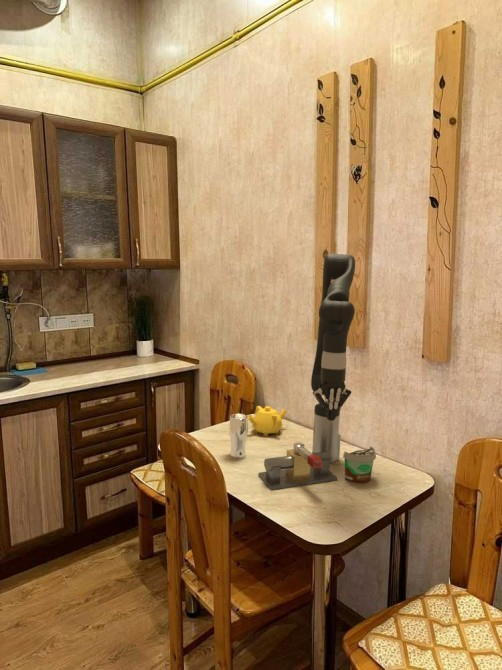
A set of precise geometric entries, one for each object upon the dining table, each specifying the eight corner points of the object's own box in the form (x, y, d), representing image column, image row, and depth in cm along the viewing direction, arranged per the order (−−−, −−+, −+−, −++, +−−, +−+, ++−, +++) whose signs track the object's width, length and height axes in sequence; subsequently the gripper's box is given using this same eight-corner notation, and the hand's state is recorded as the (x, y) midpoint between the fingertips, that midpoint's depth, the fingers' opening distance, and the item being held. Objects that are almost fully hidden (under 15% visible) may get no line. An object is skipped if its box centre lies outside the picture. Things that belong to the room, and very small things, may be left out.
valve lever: (291, 450, 156) (291, 443, 156) (301, 449, 157) (301, 442, 157) (312, 468, 142) (312, 460, 142) (322, 467, 144) (323, 459, 143)
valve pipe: (321, 466, 166) (322, 442, 164) (337, 480, 155) (338, 454, 154) (258, 475, 157) (259, 450, 156) (270, 490, 147) (271, 463, 146)
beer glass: (245, 459, 170) (246, 420, 168) (226, 457, 171) (227, 418, 169) (248, 452, 177) (250, 414, 175) (231, 450, 178) (232, 412, 176)
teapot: (274, 422, 212) (274, 398, 211) (298, 434, 197) (299, 409, 196) (236, 429, 202) (237, 404, 200) (259, 443, 187) (259, 416, 185)
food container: (353, 487, 150) (355, 458, 149) (341, 480, 156) (343, 451, 154) (382, 480, 156) (384, 452, 155) (369, 473, 161) (371, 446, 160)
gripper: (345, 362, 149) (342, 414, 151) (308, 364, 144) (306, 418, 147) (358, 367, 142) (355, 421, 145) (320, 369, 137) (317, 425, 140)
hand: (330, 419), depth 146 cm, fingers closed
